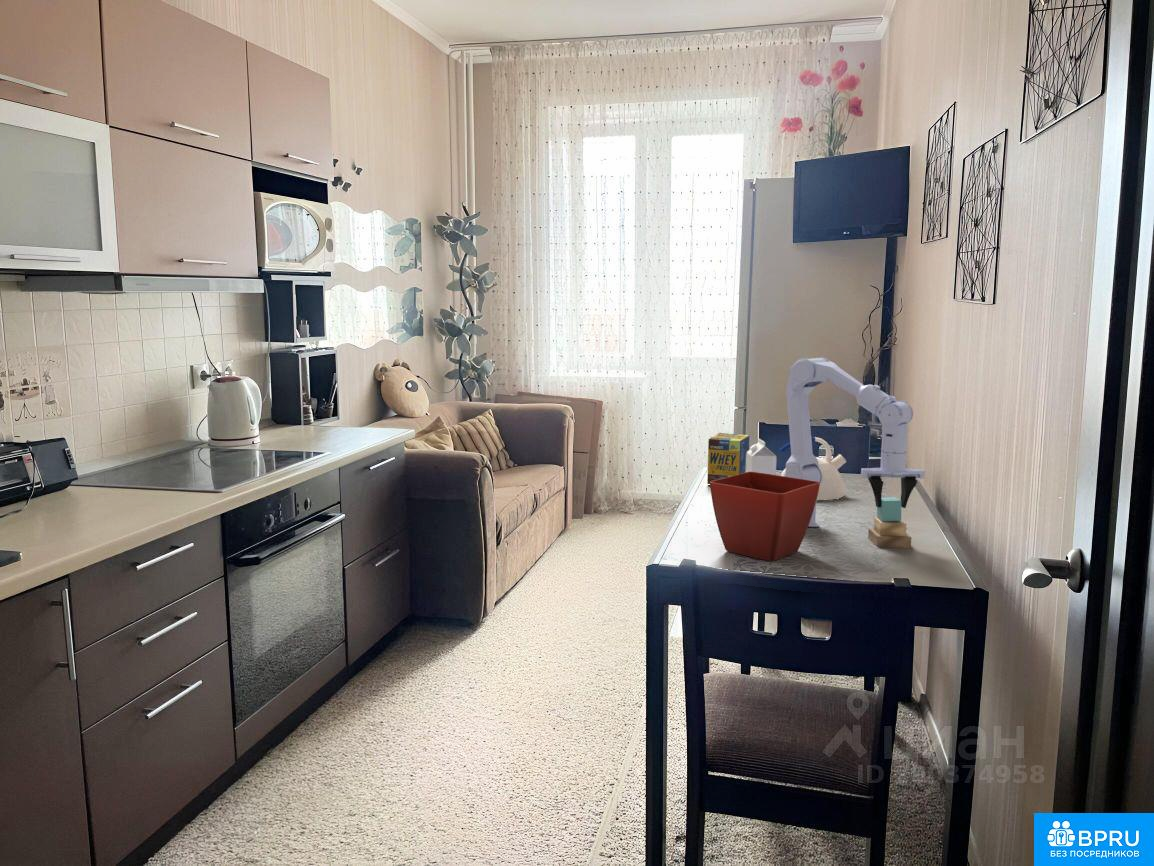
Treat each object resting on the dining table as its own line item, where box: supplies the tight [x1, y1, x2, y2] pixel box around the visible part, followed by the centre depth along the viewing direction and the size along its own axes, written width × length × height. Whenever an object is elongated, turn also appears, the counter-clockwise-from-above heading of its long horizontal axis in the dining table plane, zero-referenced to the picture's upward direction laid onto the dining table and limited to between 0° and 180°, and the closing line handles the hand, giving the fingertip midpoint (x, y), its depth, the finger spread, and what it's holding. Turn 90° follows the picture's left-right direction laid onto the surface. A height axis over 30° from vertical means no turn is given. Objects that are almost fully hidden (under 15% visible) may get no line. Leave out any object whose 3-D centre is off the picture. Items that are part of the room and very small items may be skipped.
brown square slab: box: [867, 527, 912, 548], centre depth 208 cm, size 8×8×3 cm
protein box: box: [706, 432, 750, 485], centre depth 280 cm, size 10×15×16 cm
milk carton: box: [746, 438, 778, 475], centre depth 248 cm, size 7×7×19 cm
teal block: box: [876, 496, 902, 521], centre depth 208 cm, size 4×4×5 cm
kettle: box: [778, 436, 847, 500], centre depth 263 cm, size 20×21×18 cm
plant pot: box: [709, 472, 820, 562], centre depth 199 cm, size 19×19×17 cm
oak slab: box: [873, 516, 907, 536], centre depth 208 cm, size 6×6×3 cm
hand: (890, 506), depth 207 cm, fingers open, 5 cm apart
